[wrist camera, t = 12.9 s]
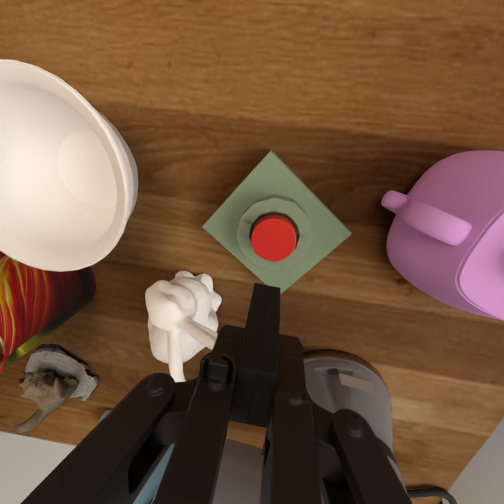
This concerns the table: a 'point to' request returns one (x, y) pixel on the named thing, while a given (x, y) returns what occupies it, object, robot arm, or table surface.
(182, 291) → the rabbit
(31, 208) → the bowl
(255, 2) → the table surface
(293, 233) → the button
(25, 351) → the mug
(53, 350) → the skull
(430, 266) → the teapot
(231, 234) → the button box
